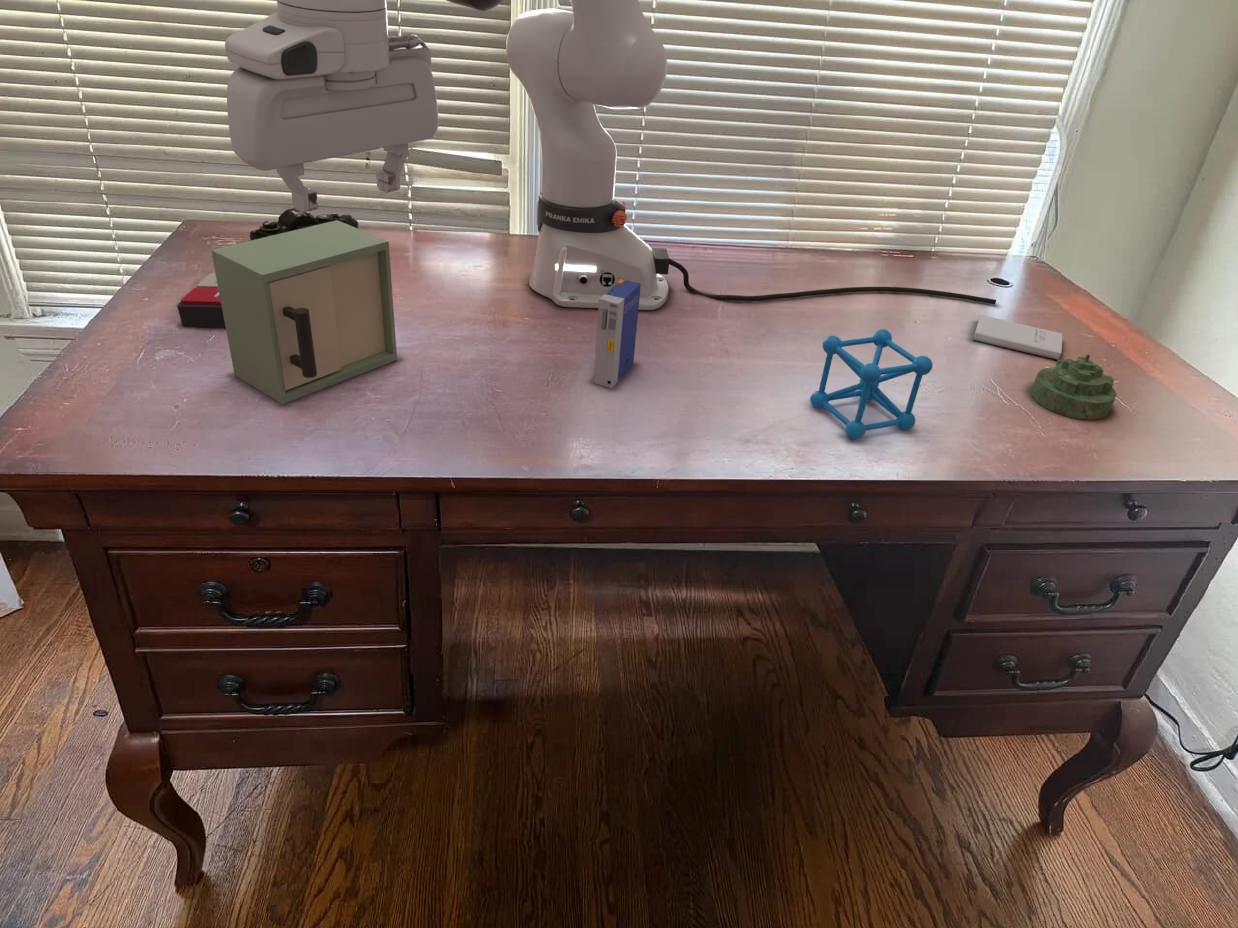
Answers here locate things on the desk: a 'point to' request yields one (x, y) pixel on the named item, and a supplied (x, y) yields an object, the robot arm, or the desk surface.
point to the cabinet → (355, 293)
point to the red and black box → (202, 305)
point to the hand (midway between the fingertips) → (349, 199)
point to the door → (305, 326)
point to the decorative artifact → (1075, 389)
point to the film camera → (298, 223)
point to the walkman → (616, 332)
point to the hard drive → (1018, 337)
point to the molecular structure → (870, 382)
